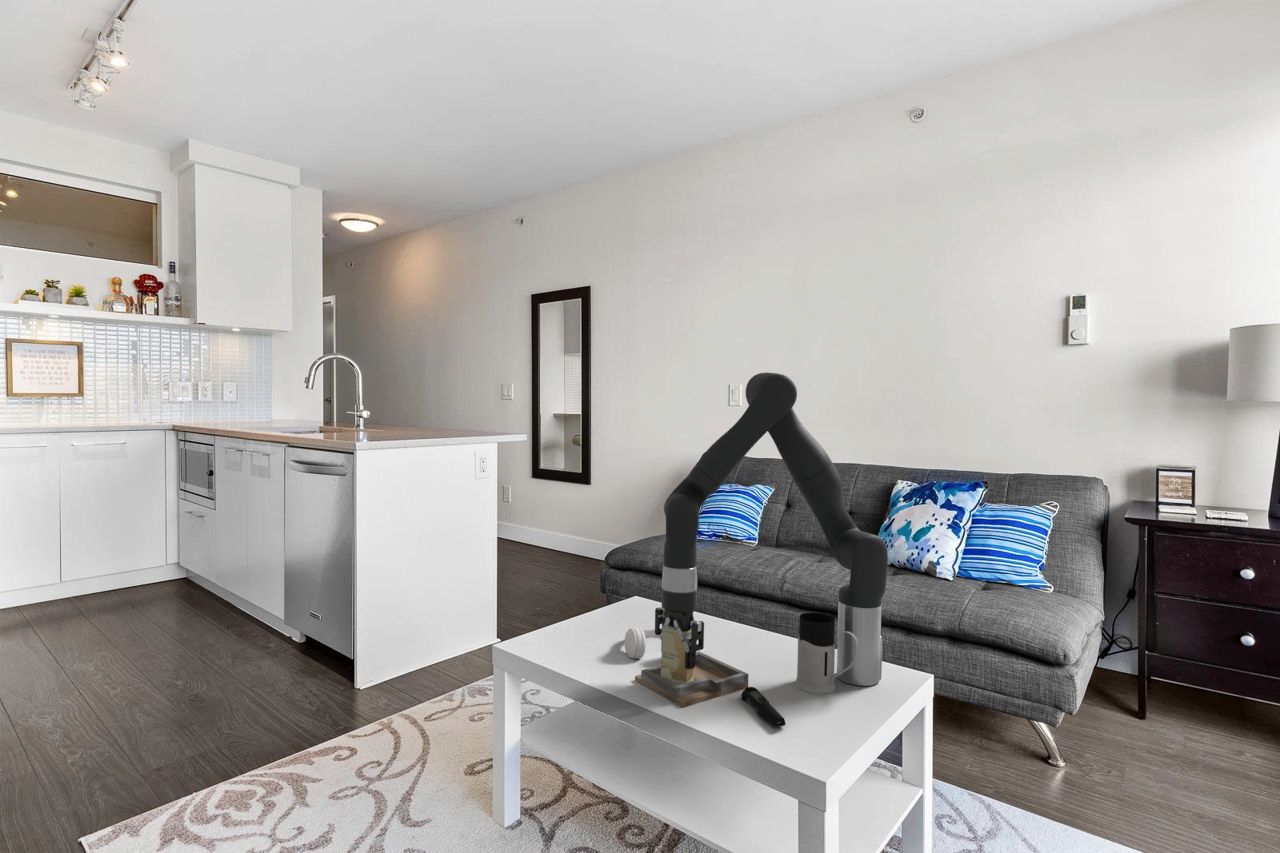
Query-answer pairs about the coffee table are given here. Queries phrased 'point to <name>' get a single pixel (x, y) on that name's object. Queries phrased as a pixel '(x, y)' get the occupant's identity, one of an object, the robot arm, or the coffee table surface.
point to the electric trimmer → (763, 706)
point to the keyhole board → (697, 681)
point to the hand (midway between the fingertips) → (677, 662)
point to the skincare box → (674, 657)
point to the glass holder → (818, 653)
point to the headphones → (637, 641)
